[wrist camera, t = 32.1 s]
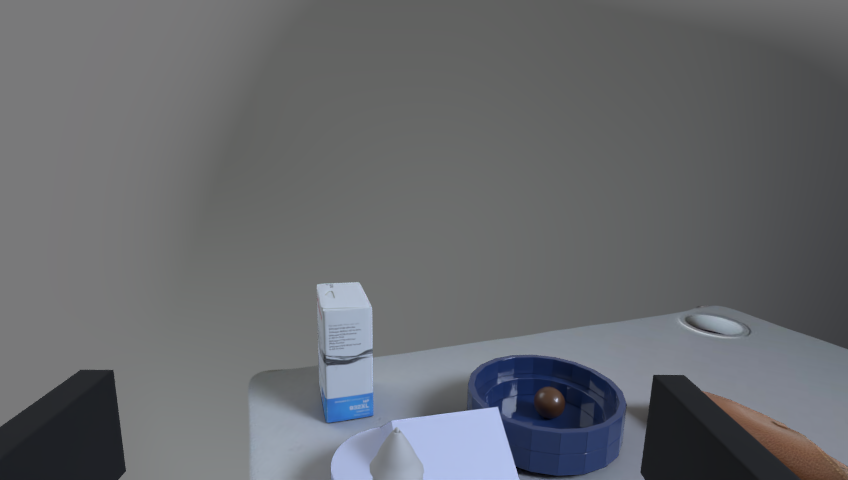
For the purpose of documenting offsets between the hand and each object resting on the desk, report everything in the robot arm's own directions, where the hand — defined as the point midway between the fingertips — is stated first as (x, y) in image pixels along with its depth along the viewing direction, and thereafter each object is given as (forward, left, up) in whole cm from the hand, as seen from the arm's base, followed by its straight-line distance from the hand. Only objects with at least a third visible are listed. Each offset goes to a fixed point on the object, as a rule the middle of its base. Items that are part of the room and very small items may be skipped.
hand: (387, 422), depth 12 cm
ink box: (-25, +28, -21) cm, 42 cm away
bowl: (-5, +33, -21) cm, 39 cm away
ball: (-5, +35, -18) cm, 40 cm away
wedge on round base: (-11, +20, -21) cm, 31 cm away
